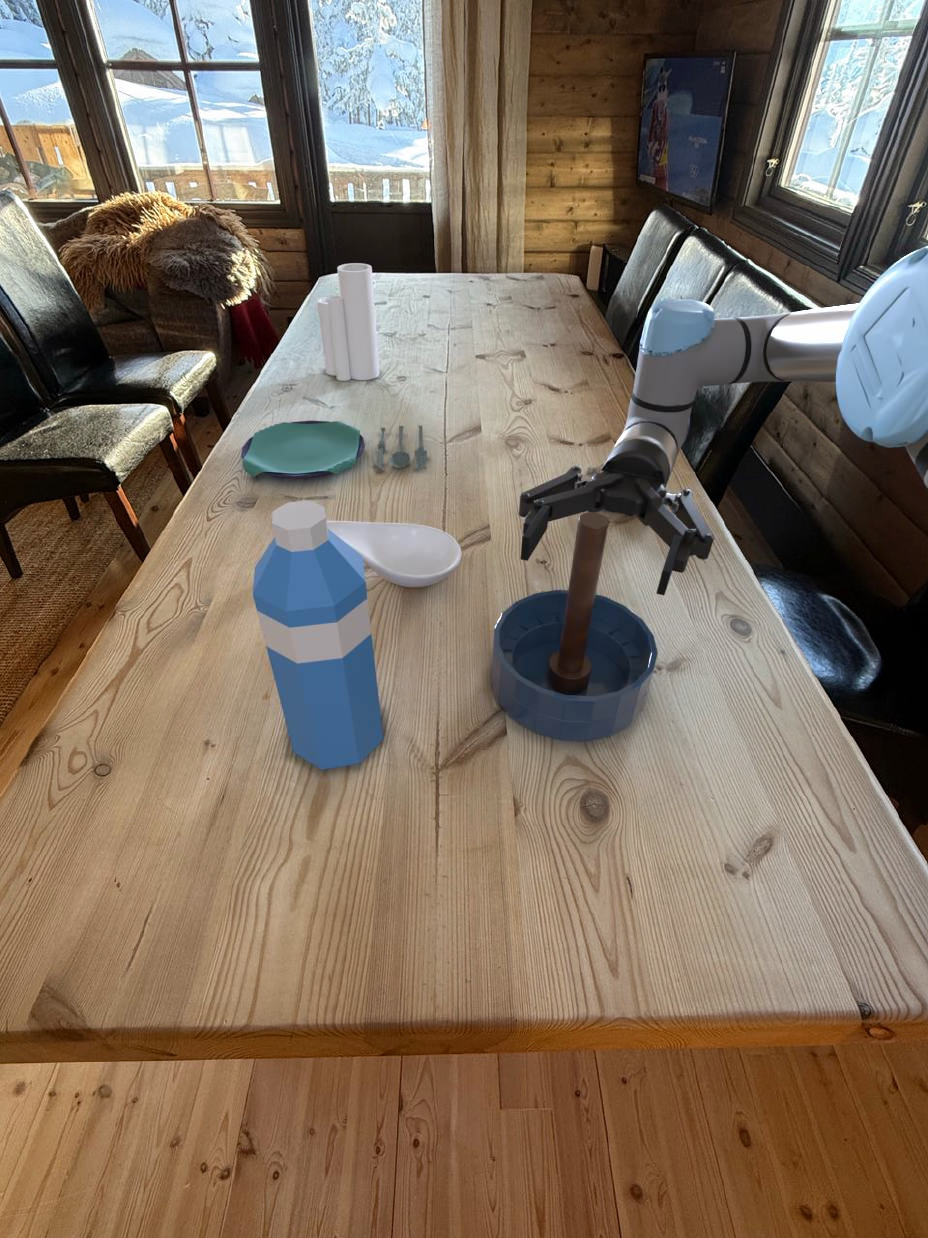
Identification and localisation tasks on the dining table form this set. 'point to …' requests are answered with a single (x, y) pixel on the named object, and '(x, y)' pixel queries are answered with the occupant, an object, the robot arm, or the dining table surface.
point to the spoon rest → (402, 550)
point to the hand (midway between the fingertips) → (591, 565)
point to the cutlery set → (315, 449)
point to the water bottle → (319, 638)
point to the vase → (350, 325)
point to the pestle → (579, 607)
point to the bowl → (615, 677)
